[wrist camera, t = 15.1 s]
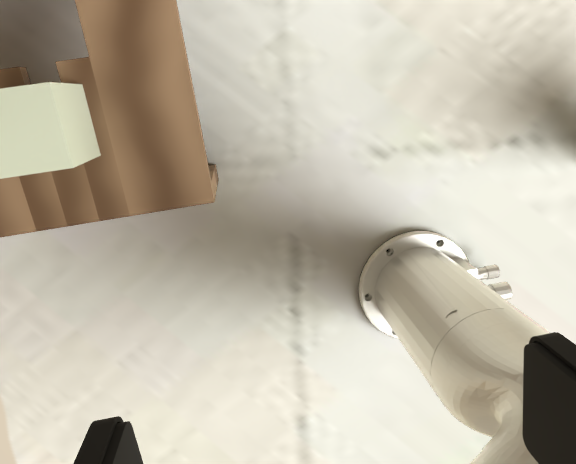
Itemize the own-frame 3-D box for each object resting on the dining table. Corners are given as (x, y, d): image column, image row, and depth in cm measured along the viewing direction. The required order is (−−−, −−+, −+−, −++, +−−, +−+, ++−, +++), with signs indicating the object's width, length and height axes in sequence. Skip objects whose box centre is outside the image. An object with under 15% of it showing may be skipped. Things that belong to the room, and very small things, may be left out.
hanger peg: (108, 86, 38) (49, 81, 26) (122, 145, 40) (73, 167, 28) (48, 94, 38) (-41, 94, 26) (64, 153, 40) (-12, 180, 27)
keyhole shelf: (169, -77, 38) (148, -135, 29) (218, 179, 45) (214, 202, 35) (-78, -48, 37) (-186, -97, 27) (10, 212, 43) (-53, 245, 34)
